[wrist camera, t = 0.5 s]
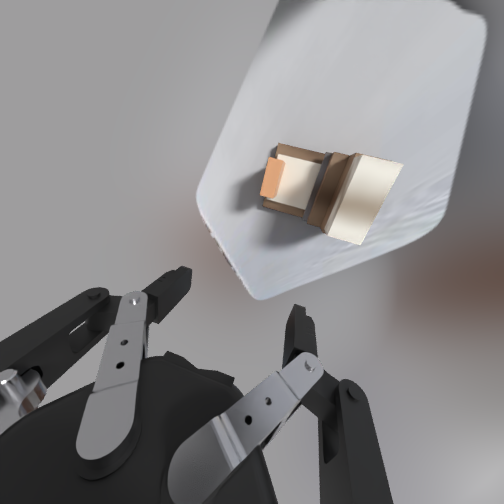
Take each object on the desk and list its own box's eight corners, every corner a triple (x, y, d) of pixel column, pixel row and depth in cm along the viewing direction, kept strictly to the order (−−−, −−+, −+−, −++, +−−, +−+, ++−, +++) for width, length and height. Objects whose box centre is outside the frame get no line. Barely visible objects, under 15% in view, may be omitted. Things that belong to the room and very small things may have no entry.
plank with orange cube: (275, 153, 29) (270, 148, 24) (335, 168, 28) (344, 166, 23) (264, 198, 32) (258, 201, 27) (318, 213, 30) (322, 219, 25)
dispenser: (279, 144, 29) (269, 127, 19) (367, 165, 28) (406, 158, 18) (263, 205, 34) (249, 217, 24) (339, 226, 32) (358, 249, 22)
